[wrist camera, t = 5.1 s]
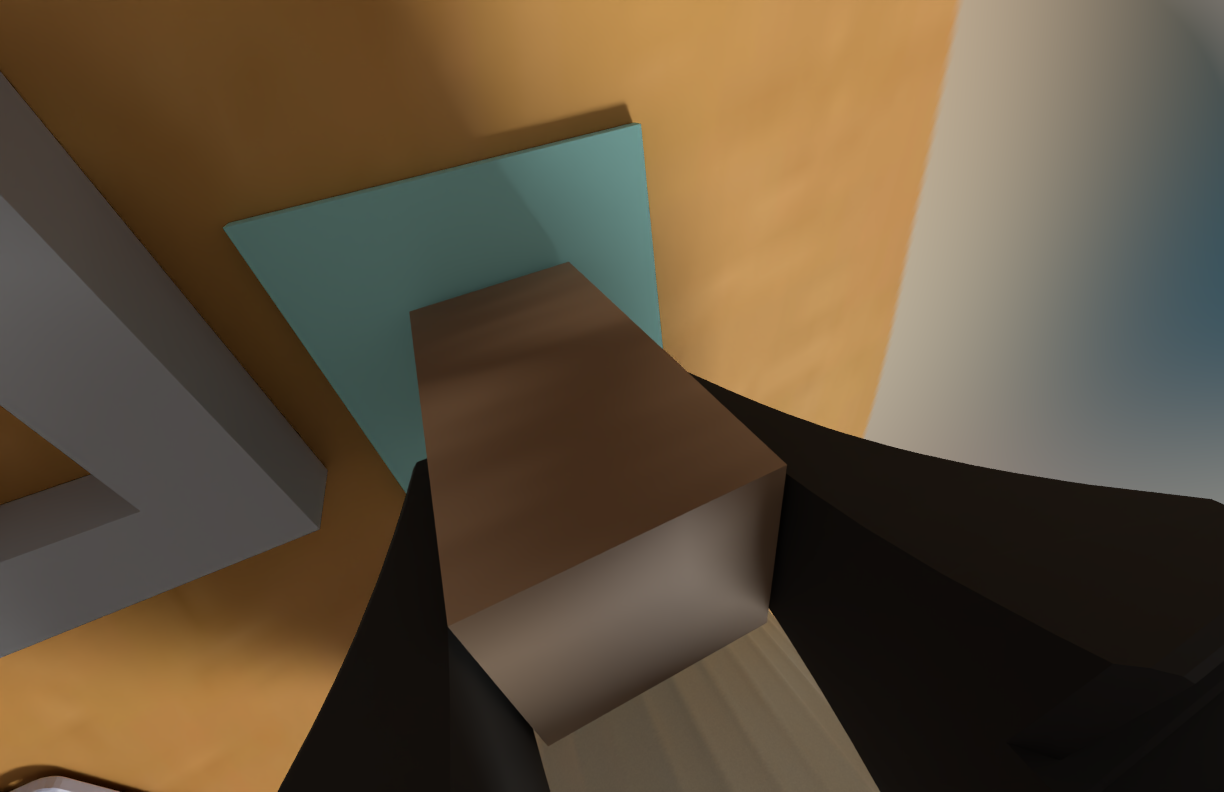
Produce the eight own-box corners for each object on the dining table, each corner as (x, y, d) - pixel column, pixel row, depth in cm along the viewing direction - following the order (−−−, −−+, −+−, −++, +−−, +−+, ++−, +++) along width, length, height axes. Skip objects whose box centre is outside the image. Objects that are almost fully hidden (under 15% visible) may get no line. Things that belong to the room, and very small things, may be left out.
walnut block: (469, 435, 13) (548, 746, 7) (409, 311, 10) (447, 626, 4) (596, 386, 14) (766, 622, 8) (568, 261, 11) (787, 464, 5)
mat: (418, 503, 14) (419, 512, 14) (228, 223, 9) (223, 228, 9) (663, 403, 16) (668, 409, 16) (633, 122, 11) (641, 123, 11)
